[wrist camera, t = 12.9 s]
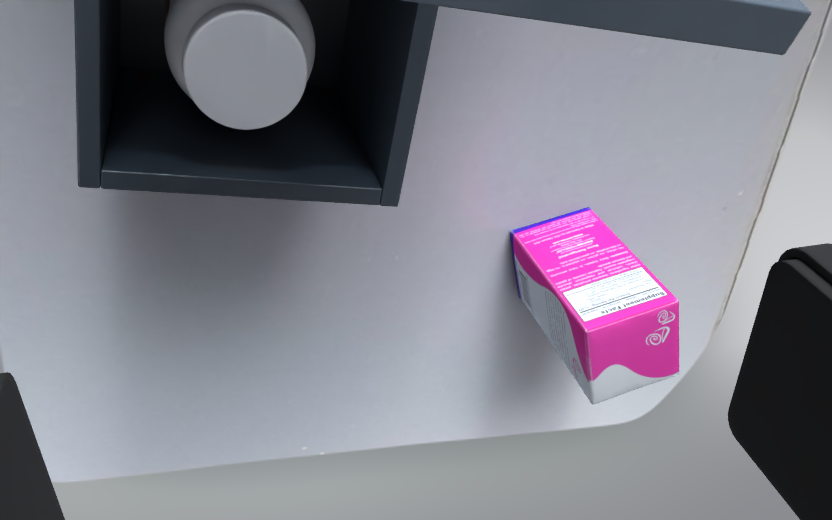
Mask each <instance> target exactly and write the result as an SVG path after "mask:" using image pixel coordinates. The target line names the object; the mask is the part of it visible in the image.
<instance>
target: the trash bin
mask: <svg viewBox="0 0 832 520" xmlns="http://www.w3.org/2000/svg"><path fill="white" fill-rule="evenodd" d="M301 1H302V3H303V5H304V7H305V9H306V11H307V13H308V15H309V18H310V21H311V24H312V27H313V31H314V36H315V58H314V64H313V68H312V71H311V74H310V76H309V79H308V81H307V82H306V87H305V90H304V93H303V95H302V97H301V99H300V101H299V102H298V104H297V105H296V107H295V108H294V109H293V110H292V111H291V112H290V113H289V114H288V115H287V116H285V117H284V118H283V119H281V120H280V121H278V122H276V123H274V124H272V125H269V126H267V127H263V128H258V129H251V130H243V129H235V128H231V127H227V126H224V125H222V124H220V123H217V122H216V121H214V120H212V119H211V118H209V117H208V116H207V115H205V114H204V113H203V112H202V111H201V110H200V109H199V108H198V107H197V105H196V104H195V103H194V101H193V100H192V99H191V98H190V97H189V96H188V95H187V94H186V93H185V92H184V91H183V90H182V89H181V88H180V86H179V85H178V83H177V82H176V80H175V78H174V76H173V74H172V72H171V70H170V67H169V64H168V61H167V57H166V53H165V45H164V27H165V11H166V0H74V13H75V61H76V109H77V158H78V185H79V187H87V188H100V186H101V188H103V189H118V190H134V191H151V192H168V193H185V194H201V195H218V196H235V197H251V198H268V199H285V200H301V201H318V202H335V203H351V204H368V205H379V204H380V205H381V206H396V207H397V206H398V202H399V198H400V193H401V188H402V183H403V178H404V173H405V168H406V163H407V158H408V153H409V148H410V143H411V139H412V134H413V129H414V124H415V119H416V114H417V109H418V104H419V99H420V94H421V89H422V84H423V79H424V75H425V70H426V65H427V60H428V55H429V50H430V45H431V40H432V35H433V30H434V25H435V20H436V16H437V11H438V6H436V5H429V4H422V3H415V2H408V1H401V0H301Z"/></svg>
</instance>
